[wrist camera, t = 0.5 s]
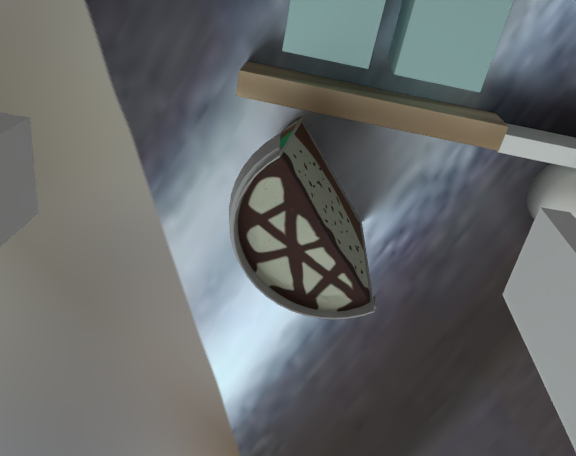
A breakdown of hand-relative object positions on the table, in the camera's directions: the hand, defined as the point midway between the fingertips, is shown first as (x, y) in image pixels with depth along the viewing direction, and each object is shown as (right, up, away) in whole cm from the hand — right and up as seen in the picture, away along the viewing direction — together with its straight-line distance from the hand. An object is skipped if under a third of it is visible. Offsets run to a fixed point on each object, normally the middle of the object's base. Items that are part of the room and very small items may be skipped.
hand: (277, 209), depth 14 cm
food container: (+1, +2, +26) cm, 26 cm away
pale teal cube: (+10, +12, +19) cm, 25 cm away
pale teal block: (+3, +14, +19) cm, 24 cm away
